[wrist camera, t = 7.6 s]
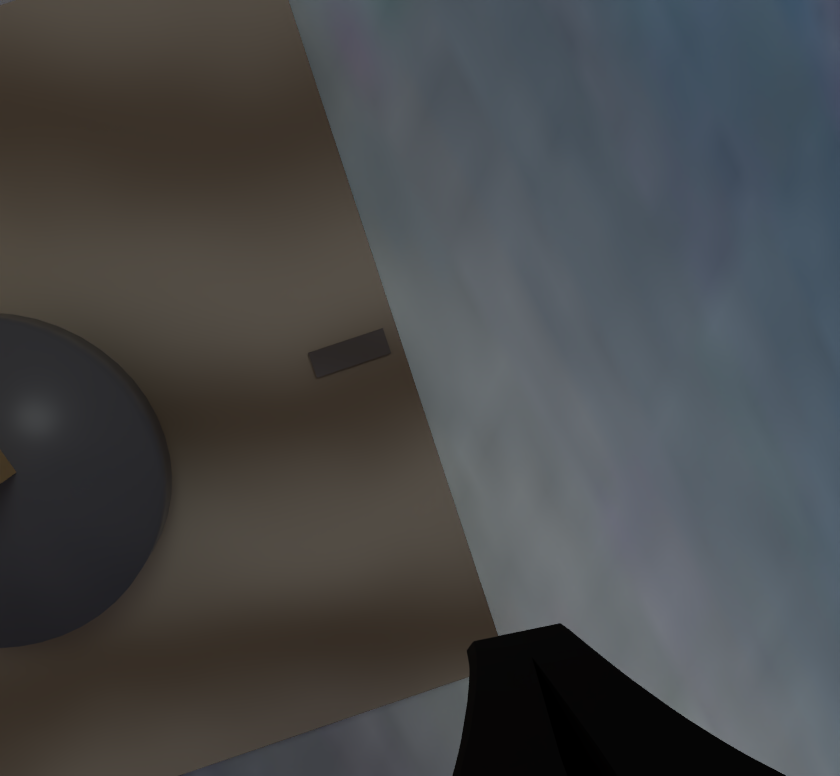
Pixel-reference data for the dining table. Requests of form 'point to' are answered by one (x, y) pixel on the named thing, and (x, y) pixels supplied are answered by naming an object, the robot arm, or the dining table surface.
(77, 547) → the lever with round base
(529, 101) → the dining table surface
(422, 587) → the post board
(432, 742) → the dining table surface
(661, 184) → the dining table surface
